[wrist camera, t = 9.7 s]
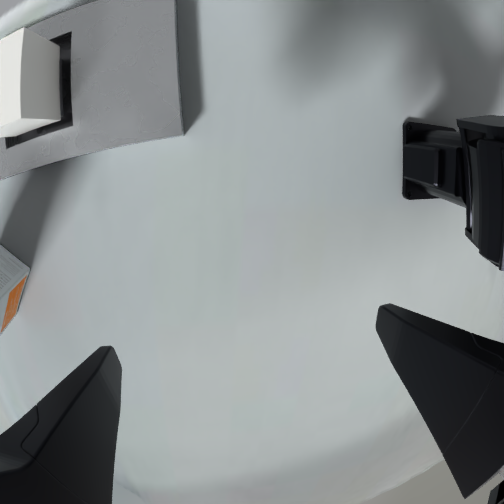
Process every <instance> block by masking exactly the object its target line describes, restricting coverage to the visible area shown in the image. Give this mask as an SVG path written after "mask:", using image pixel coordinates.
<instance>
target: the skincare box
mask: <svg viewBox="0 0 504 504" xmlns="http://www.w3.org/2000/svg"><path fill="white" fill-rule="evenodd" d="M29 272H30V268H29V267H28V266H26V265H25V264H24V263H22V262H21V261H20V260H19V259H17V258H16V257H15V256H14V255H12V254H11V253H10V252H9V251H8V250H7V249H5V248H4V247H3V246H2V245H1V244H0V335H1V334H2V332H3V331H4V330H5V329H6V327H7V326H8V325H9V323H10V322H11V321H12V320H13V318H14V317H15V316H16V314H17V310H18V306H19V302H20V299H21V295H22V292H23V289H24V286H25V283H26V280H27V277H28V274H29Z"/></svg>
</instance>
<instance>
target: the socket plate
mask: <svg viewBox="0 0 504 504" xmlns="http://www.w3.org/2000/svg"><path fill="white" fill-rule="evenodd" d="M27 29H29V30H31V31H33V32H35V33H37V34H38V35H40V36H42V37H44V38H46V39H48V40H49V41H51V42H53V43H55V44H56V45H58V46H60V58H61V59H62V94H63V114H64V116H62V117H61V120H60V121H57V122H54V123H51V124H48V125H45V126H42V127H39V128H36V129H34V130H31V131H28V132H25V133H23V134H20V135H18V136H12V137H1V138H0V180H2V179H5V178H8V177H11V176H14V175H16V174H19V173H22V172H25V171H28V170H32V169H35V168H38V167H41V166H44V165H48V164H51V163H55V162H58V161H62V160H65V159H69V158H73V157H77V156H81V155H85V154H89V153H93V152H97V151H102V150H106V149H111V148H115V147H120V146H125V145H130V144H136V143H141V142H147V141H152V140H158V139H165V138H171V137H178V136H184V128H183V117H182V105H181V92H180V77H179V61H178V40H177V10H176V0H97V1H94V2H91V3H88V4H85V5H82V6H79V7H76V8H73V9H70V10H68V11H65V12H62V13H60V14H57V15H55V16H53V17H50V18H48V19H46V20H43V21H41V22H39V23H37V24H34V25H32V26H30V27H28V28H27Z"/></svg>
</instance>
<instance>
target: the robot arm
mask: <svg viewBox="0 0 504 504" xmlns="http://www.w3.org/2000/svg"><path fill="white" fill-rule="evenodd" d="M457 125H458V127H459V129H460V132H456V130H455V129H453V128H448V127H442V126H435V125H429V124H422V123H414V122H405V123H404V124H403V191H402V194H403V197H404V198H405V199H408V200H414V199H434V198H441V199H444V200H447V201H450V202H452V203H455V204H457V205H460V206H463V207H465V208H466V228H465V235H466V236H467V237H468V238H469V239H470V240H471V242H472V243H473V244H474V245H475V246H476V247H477V248H478V249H479V253H480V254H481V255H482V256H483V257H484V258H486V259H487V260H489V261H490V262H491V263H493V264H494V265H495V266H497V267H499V270H501V271H504V116H495V115H488V116H479V117H470V118H463V119H457ZM408 126H409V127H410V129H409V130H408ZM408 191H409V195H407V193H408ZM376 331H377V333H378V335H379V337H380V340H381V342H382V344H383V346H384V348H385V350H386V352H387V355H388V357H389V359H390V361H391V363H392V365H393V367H394V368H395V370H396V372H397V373H398V375H399V377H400V379H401V380H402V382H403V384H404V385H405V387H406V389H407V390H408V392H409V394H410V396H411V397H412V399H413V401H414V403H415V404H416V406H417V408H418V410H419V412H420V413H421V415H422V417H423V419H424V421H425V422H426V424H427V426H428V428H429V430H430V432H431V433H432V435H433V437H434V439H435V441H436V443H437V445H438V447H439V449H440V451H441V452H442V454H443V457H444V459H445V461H446V463H447V465H448V467H449V469H450V470H451V473H452V475H453V477H454V479H455V481H456V483H457V485H458V487H459V489H460V491H461V493H462V495H463V497H464V498H465V499H466V498H467V497H469V496H470V495H471V494H473V493H474V492H475V491H477V490H478V489H479V488H481V487H482V486H483V485H484V484H486V483H487V482H488V481H489V480H491V479H492V478H493V477H494V476H496V475H497V474H498V473H499V474H500V475H501V477H502V478H503V479H504V343H501V342H498V341H494V340H491V339H488V338H485V337H482V336H479V335H476V334H474V333H470V332H468V331H465V330H463V329H460V328H457V327H454V326H451V325H449V324H446V323H443V322H440V321H438V320H435V319H432V318H429V317H427V316H424V315H421V314H418V313H415V312H413V311H410V310H407V309H404V308H402V307H399V306H396V305H393V304H390V303H389V304H385V305H381V306H380V307H379V309H378V314H377V320H376ZM121 378H122V367H121V364H120V361H119V359H118V357H117V354H116V352H115V350H114V348H113V347H112V346H101V347H99V348H98V349H97V350H96V351H95V352H94V353H93V354H92V355H90V356H89V357H88V358H87V359H86V360H85V361H84V362H82V363H81V364H80V365H79V366H78V367H77V368H76V369H75V370H74V371H72V372H71V373H70V374H69V375H68V376H67V377H66V378H65V379H64V380H62V381H61V382H60V383H59V384H58V385H57V386H56V387H55V388H54V389H53V390H51V391H50V392H49V393H48V394H47V395H46V396H45V397H44V398H43V399H42V400H41V401H39V402H38V403H37V405H35V406H34V407H33V408H32V409H31V410H30V411H29V412H27V413H26V414H25V415H24V416H23V417H22V418H21V419H20V420H18V421H17V422H16V423H15V424H14V425H12V426H11V427H10V428H9V429H7V430H6V431H5V432H3V433H2V434H1V435H0V504H112V490H113V474H114V462H115V451H116V441H117V432H118V424H119V417H120V406H121ZM488 504H504V480H503V481H502V482H501V483H500V484H498V485H497V486H496V487H495V488H494V489H493V490H491V492H490V496H489V500H488Z"/></svg>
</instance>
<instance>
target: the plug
mask: <svg viewBox="0 0 504 504" xmlns="http://www.w3.org/2000/svg"><path fill="white" fill-rule="evenodd" d="M62 116H64V114H63V94H62V59H61V58H60V46H58V45H56V44H55V43H53V42H51V41H49V40H48V39H46V38H44V37H42V36H40V35H38V34H37V33H35V32H33V31H31V30H29V29H27V28H25V27H23V28H21V29H19V30H17V31H15V32H14V33H12V34H10V35H8V36H6V37H4V38H3V39H1V40H0V138H1V137H12V136H18V135H20V134H23V133H25V132H28V131H31V130H34V129H36V128H39V127H42V126H45V125H48V124H51V123H54V122H57V121H60V120H61V117H62Z"/></svg>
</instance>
